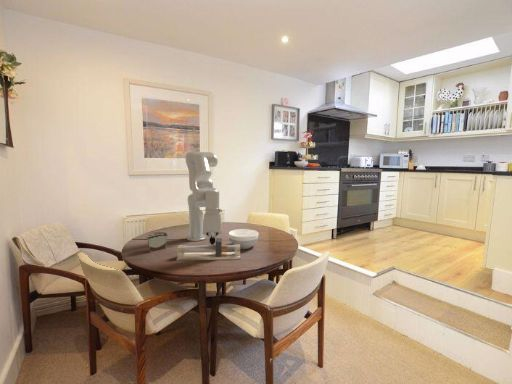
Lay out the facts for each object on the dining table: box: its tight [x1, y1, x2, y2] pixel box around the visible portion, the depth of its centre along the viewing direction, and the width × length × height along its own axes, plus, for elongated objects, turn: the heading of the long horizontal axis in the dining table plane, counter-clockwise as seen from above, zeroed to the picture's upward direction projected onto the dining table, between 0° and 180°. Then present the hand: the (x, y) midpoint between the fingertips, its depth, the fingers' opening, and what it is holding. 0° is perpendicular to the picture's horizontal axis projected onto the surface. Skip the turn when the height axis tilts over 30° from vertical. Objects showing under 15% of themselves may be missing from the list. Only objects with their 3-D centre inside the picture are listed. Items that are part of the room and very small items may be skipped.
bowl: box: [228, 228, 259, 250], centre depth 158 cm, size 19×19×9 cm
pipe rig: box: [176, 244, 241, 262], centre depth 139 cm, size 9×34×6 cm, turn 96°
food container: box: [146, 231, 168, 254], centre depth 149 cm, size 12×6×10 cm, turn 135°
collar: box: [215, 237, 223, 257], centre depth 139 cm, size 7×3×8 cm, turn 6°
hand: (212, 244), depth 138 cm, fingers closed
